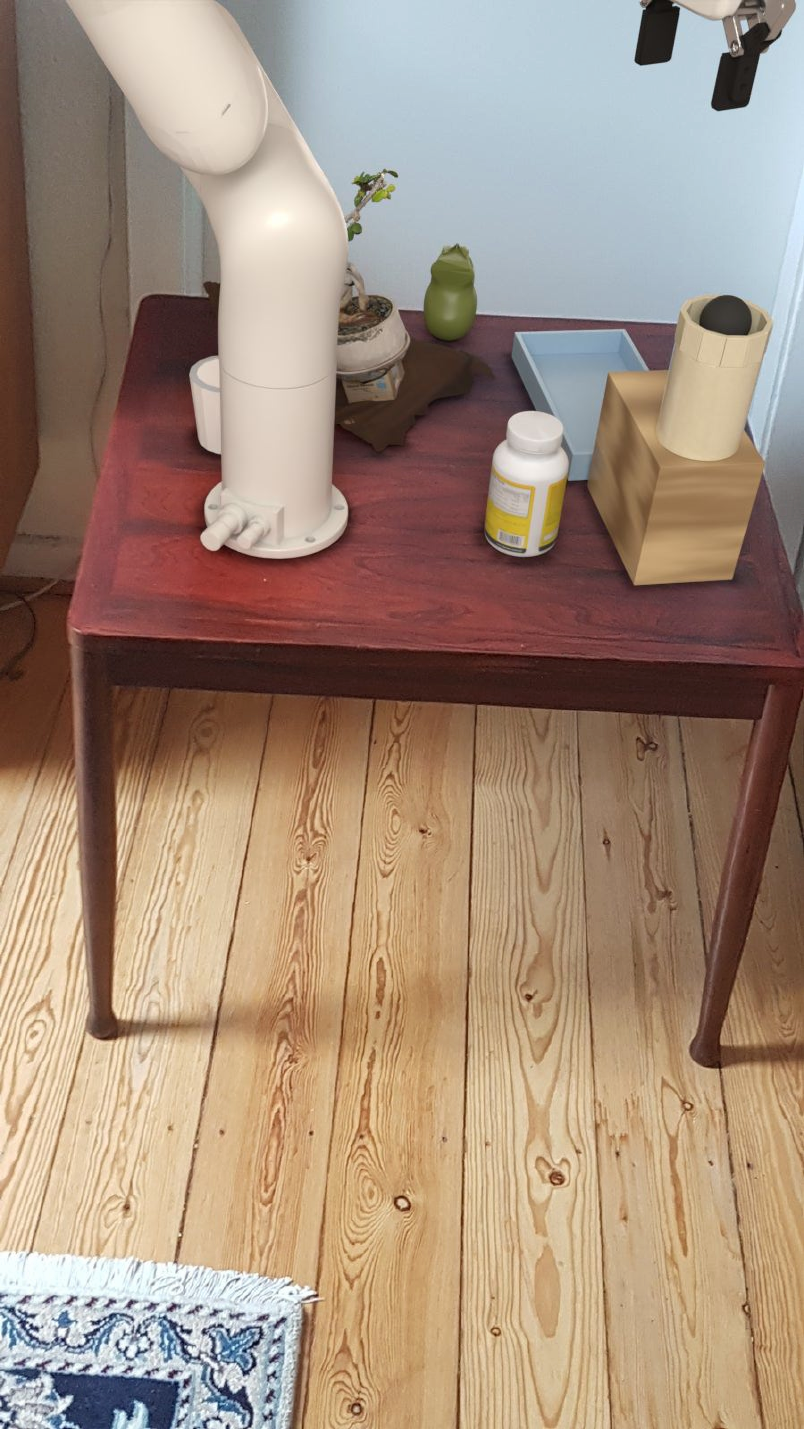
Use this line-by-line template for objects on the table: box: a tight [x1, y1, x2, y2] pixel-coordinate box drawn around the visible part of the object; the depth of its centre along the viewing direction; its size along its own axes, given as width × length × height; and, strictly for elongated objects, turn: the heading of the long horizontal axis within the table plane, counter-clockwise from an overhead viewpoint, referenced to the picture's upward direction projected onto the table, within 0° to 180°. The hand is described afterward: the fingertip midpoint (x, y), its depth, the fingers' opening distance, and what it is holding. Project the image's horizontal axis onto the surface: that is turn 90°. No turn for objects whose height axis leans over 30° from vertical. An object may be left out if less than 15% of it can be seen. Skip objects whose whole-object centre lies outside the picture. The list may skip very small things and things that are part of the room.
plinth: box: [586, 369, 766, 586], centre depth 125 cm, size 15×9×12 cm, turn 10°
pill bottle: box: [483, 410, 569, 558], centre depth 123 cm, size 6×6×12 cm
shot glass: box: [188, 355, 221, 455], centre depth 133 cm, size 7×7×7 cm
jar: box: [655, 294, 774, 461], centre depth 115 cm, size 7×7×11 cm
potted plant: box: [202, 168, 496, 452], centre depth 138 cm, size 20×19×25 cm
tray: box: [510, 328, 650, 482], centre depth 142 cm, size 23×12×3 cm, turn 10°
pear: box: [422, 242, 478, 342], centre depth 149 cm, size 6×5×10 cm
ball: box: [699, 294, 752, 336], centre depth 111 cm, size 4×4×4 cm
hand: (689, 84), depth 109 cm, fingers open, 9 cm apart
